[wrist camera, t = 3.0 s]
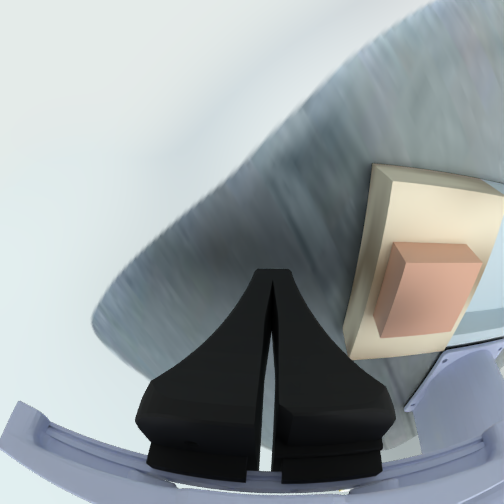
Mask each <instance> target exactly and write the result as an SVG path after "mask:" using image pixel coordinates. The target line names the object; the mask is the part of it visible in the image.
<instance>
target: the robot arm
mask: <svg viewBox="0 0 504 504" xmlns="http://www.w3.org/2000/svg"><path fill="white" fill-rule="evenodd" d="M271 331H272V340H273V353H274V367H275V405H274V427H273V447H272V464H271V472H270V471H269V472H268V471H267V472H266V471H259V462H260V445H261V428H262V411H263V393H264V380H265V372H266V365H267V359H268V352H269V345H270V338H271ZM503 348H504V339H500V340H496V341H491V342H486V343H482V344H477V345H472V346H466V347H461V348H455V349H449V350H446V351H444V352H443V353H442V354H441V356H440V357H439V359H438V360H437V362H436V364H435V365H434V367H433V368H432V370H431V371H430V373H429V374H428V376H427V377H426V379H425V380H424V382H423V383H422V384H421V386H420V387H419V389H418V390H417V391H416V393H415V394H414V395H413V397H412V398H411V399H410V401H409V402H408V403H407V405H406V406H405V407H404V411H405V412H410V411H413V415H414V419H415V423H416V428H417V432H418V436H419V441H420V446H421V451H422V454H421V455H417V456H413V457H409V458H404V459H400V460H395V461H390V462H385V463H382V462H381V455H380V450H382V449H383V443H382V436H383V435H384V434H385V433H386V432H387V431H388V430H389V428H390V427H391V426H392V425H393V423H394V421H395V420H396V416H395V410H394V406H393V403H392V400H391V398H390V395H389V393H388V390H387V388H386V386H384V385H383V384H381V383H380V382H379V381H377V380H376V379H374V378H373V377H372V376H370V375H369V374H367V373H366V372H365V371H364V370H362V369H361V368H360V367H359V366H358V365H357V364H355V363H354V362H353V361H352V360H351V359H350V358H349V357H348V356H347V355H346V354H345V353H344V352H343V351H342V350H341V349H340V348H339V347H338V346H337V345H336V344H335V343H334V341H333V340H332V339H331V338H330V337H329V336H328V334H327V333H326V332H325V331H324V329H323V328H322V327H321V326H320V324H319V323H318V321H317V320H316V318H315V317H314V315H313V314H312V312H311V311H310V309H309V308H308V306H307V304H306V303H305V301H304V299H303V297H302V296H301V294H300V292H299V290H298V288H297V285H296V283H295V281H294V278H293V276H292V272H291V271H290V270H289V269H257V270H256V271H255V272H254V275H253V277H252V279H251V281H250V283H249V285H248V287H247V289H246V291H245V292H244V294H243V296H242V297H241V299H240V300H239V302H238V303H237V305H236V306H235V308H234V309H233V310H232V312H231V313H230V314H229V316H228V317H227V318H226V319H225V321H224V322H223V323H222V324H221V325H220V327H219V328H218V329H217V330H216V331H215V332H214V333H213V334H212V335H211V336H210V337H209V338H208V339H207V340H206V341H205V342H204V343H203V344H202V345H201V346H200V347H198V348H197V349H196V350H195V351H194V352H192V353H191V354H190V355H189V356H187V357H186V358H185V359H184V360H182V361H181V362H180V363H178V364H177V365H175V366H174V367H173V368H171V369H169V370H168V371H166V372H165V373H163V374H161V375H160V376H158V377H157V378H155V379H153V380H151V382H150V384H149V386H148V387H147V389H146V391H145V393H144V395H143V397H142V400H141V403H140V406H139V409H138V412H137V415H136V418H135V422H136V424H137V425H138V428H139V429H140V430H141V431H142V433H144V435H145V436H146V437H147V438H148V439H149V441H151V445H150V449H149V453H148V455H144V454H140V453H136V452H133V451H129V450H126V449H122V448H119V447H116V446H112V445H109V444H106V443H103V442H100V441H97V440H94V439H92V438H89V437H86V436H83V435H81V434H79V433H76V432H74V431H71V430H69V429H66V428H64V427H62V426H59V425H57V424H55V423H53V422H50V421H49V419H48V418H47V417H46V416H45V415H44V414H42V413H41V412H40V411H38V410H37V409H35V408H33V407H31V406H29V405H27V404H25V403H23V402H21V401H18V402H17V405H16V406H15V408H14V410H13V412H12V414H11V416H10V419H9V421H8V423H7V425H6V427H5V429H4V432H3V434H2V436H1V438H0V450H2V451H3V452H5V453H6V454H7V455H9V456H10V457H11V458H13V459H15V460H16V461H17V462H19V463H20V464H22V465H23V466H25V467H26V468H28V469H29V470H31V471H33V472H34V473H36V474H38V475H39V476H40V477H42V478H44V479H46V480H47V481H49V482H51V483H53V484H54V485H56V486H58V487H60V488H62V489H64V490H65V491H67V492H70V493H71V494H74V495H75V496H77V497H80V498H82V499H84V500H86V501H88V502H90V503H93V504H504V379H503V377H502V375H501V373H500V370H499V368H498V366H497V364H496V362H495V359H496V358H497V356H498V355H499V354H500V352H501V351H502V349H503ZM165 480H166V481H165ZM168 481H171V482H175V483H180V484H186V485H192V486H197V487H204V488H211V489H219V490H228V491H240V492H254V493H309V492H325V491H336V490H345V489H351V490H350V491H349V494H348V495H339V494H315V495H251V494H250V495H249V494H237V493H227V492H218V491H210V490H200V489H192V488H191V489H190V488H189V489H188V488H185V489H184V488H182V489H178V488H177V487H176V485H175V484H174V483H171V482H168ZM352 488H353V489H352Z"/></svg>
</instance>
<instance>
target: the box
mask: <svg viewBox="0 0 504 504" xmlns="http://www.w3.org/2000/svg"><path fill="white" fill-rule="evenodd" d="M481 180H483V179H481ZM483 181H484V182H486V183H487V184H489V185H490V186H492V187H493V188H495V189H496V190H498V191H499V192H501V193H502V194H504V184H502V183H497V182H493V181H488V180H483ZM500 336H504V215H503V219H502V222H501V225H500V228H499V232H498V235H497V238H496V241H495V244H494V246H493V249H492V252H491V255H490V257H489V260H488V262H487V265H486V268H485V270H484V272H483V275H482V277H481V280H480V282H479V284H478V286H477V289H476V291H475V293H474V295H473V297H472V299H471V302H470V304H469V306H468V308H467V310H466V312H465V314H464V316H463V318H462V319H461V321H460V323H459V325H458V327H457V329H456V331H455V332H454V334H453V336H452V338H451V339H450V341H449V343H448V345H447V346H452V345H459V344H464V343H470V342H475V341H481V340H486V339H490V338H495V337H500Z"/></svg>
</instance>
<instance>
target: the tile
mask: <svg viewBox="0 0 504 504" xmlns="http://www.w3.org/2000/svg"><path fill="white" fill-rule="evenodd" d="M481 266H482V261H481V260H480V259H479V258H478V257H477V256H476V254H475V253H474V252H473V251H472V250H471V249H470V248H469V246H468V245H467V244H447V243H418V242H393V244H392V249H391V253H390V257H389V261H388V265H387V269H386V272H385V276H384V280H383V283H382V287H381V290H380V294H379V297H378V300H377V304H376V307H375V310H374V313H373V317H374V320H375V323H376V326H377V330H378V333H379V336H380V338H393V337H405V336H416V335H426V334H435V333H443V332H451V330H452V328H453V326H454V324H455V323H456V321H457V319H458V317H459V315H460V313H461V311H462V309H463V307H464V305H465V303H466V301H467V298H468V296H469V294H470V292H471V290H472V287H473V285H474V283H475V280H476V278H477V276H478V273H479V271H480V268H481Z"/></svg>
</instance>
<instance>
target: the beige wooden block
mask: <svg viewBox="0 0 504 504" xmlns="http://www.w3.org/2000/svg"><path fill="white" fill-rule="evenodd" d="M503 215H504V194H502V193H501V192H499V191H498V190H496V189H495V188H493V187H492V186H490V185H489V184H487V183H486V182H484V181H483V180H481V179H479V178H474V177H468V176H463V175H457V174H452V173H446V172H439V171H433V170H426V169H419V168H411V167H403V166H394V165H385V164H375V163H372V171H371V180H370V188H369V196H368V203H367V210H366V217H365V223H364V229H363V235H362V241H361V247H360V252H359V257H358V262H357V267H356V272H355V277H354V282H353V286H352V291H351V295H350V300H349V304H348V308H347V312H346V316H345V320H344V324H343V328H342V329H343V334H344V339H345V344H346V349H347V354H348V357H349V358H350V359H351V360H362V359H376V358H387V357H398V356H407V355H416V354H423V353H431V352H438V351H444V350H445V348H446V346H447V345H448V343H449V341H450V339H451V338H452V336H453V334H454V332H455V331H456V329H457V327H458V325H459V323H460V321H461V319H462V318H463V316H464V314H465V312H466V310H467V308H468V306H469V304H470V302H471V299H472V297H473V295H474V293H475V291H476V289H477V286H478V284H479V282H480V280H481V277H482V275H483V272H484V270H485V268H486V265H487V262H488V260H489V257H490V255H491V252H492V249H493V246H494V244H495V241H496V238H497V235H498V232H499V228H500V225H501V222H502V219H503ZM393 242H418V243H447V244H467V245H468V246H469V248H470V249H471V250H472V251H473V252H474V253H475V254H476V256H477V257H478V258H479V259H480V260H481V261H482V266H481V268H480V271H479V273H478V276H477V278H476V280H475V283H474V285H473V287H472V290H471V292H470V294H469V296H468V298H467V301H466V303H465V305H464V307H463V309H462V311H461V313H460V315H459V317H458V319H457V321H456V323H455V324H454V326H453V328H452V330H451V332H443V333H435V334H426V335H416V336H405V337H393V338H380V336H379V333H378V330H377V326H376V323H375V320H374V317H373V313H374V310H375V307H376V304H377V300H378V297H379V294H380V290H381V287H382V283H383V280H384V276H385V272H386V269H387V265H388V261H389V257H390V253H391V249H392V244H393Z"/></svg>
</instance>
